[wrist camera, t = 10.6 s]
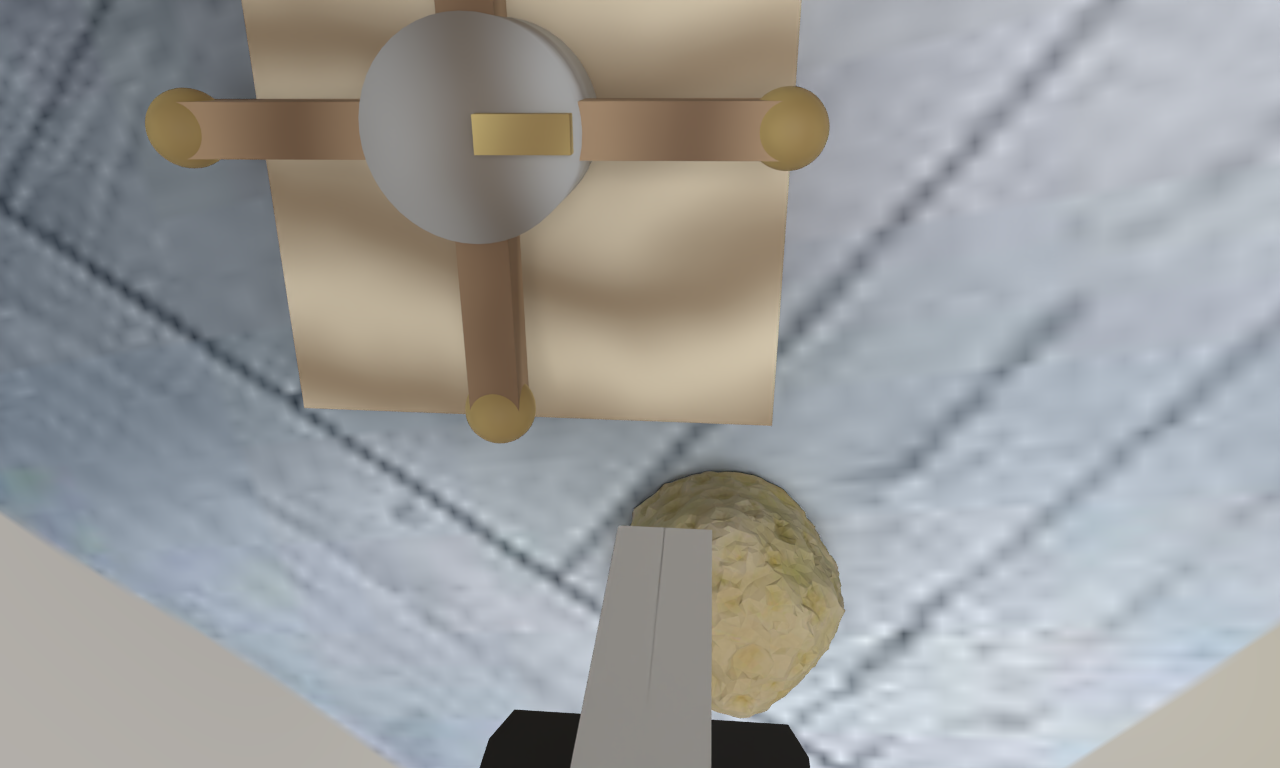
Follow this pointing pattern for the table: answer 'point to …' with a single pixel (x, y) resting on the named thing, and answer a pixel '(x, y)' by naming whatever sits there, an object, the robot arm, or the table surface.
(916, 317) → the table surface
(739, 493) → the decorative object
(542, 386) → the stand
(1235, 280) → the table surface
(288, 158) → the capstan
